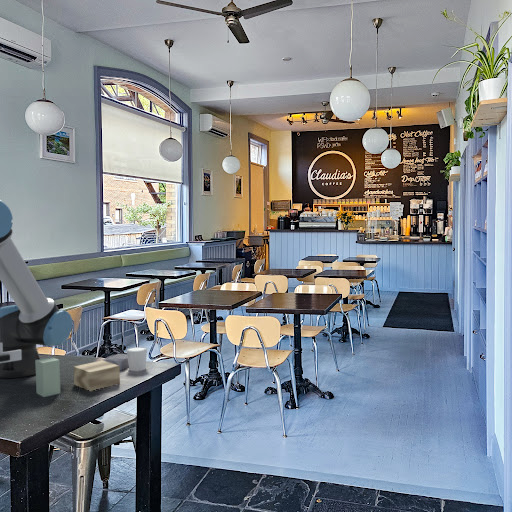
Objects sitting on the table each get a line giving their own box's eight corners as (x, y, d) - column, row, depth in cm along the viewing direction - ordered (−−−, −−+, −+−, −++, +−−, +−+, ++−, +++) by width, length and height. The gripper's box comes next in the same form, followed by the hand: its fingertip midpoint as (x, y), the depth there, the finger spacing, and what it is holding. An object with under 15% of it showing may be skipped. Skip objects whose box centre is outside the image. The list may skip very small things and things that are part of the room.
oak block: (74, 385, 169) (73, 366, 168) (103, 378, 176) (102, 360, 176) (90, 392, 162) (90, 372, 161) (119, 384, 169) (119, 365, 169)
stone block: (95, 376, 185) (122, 371, 184) (93, 362, 186) (119, 357, 184) (111, 368, 197) (137, 363, 195) (109, 355, 197) (134, 350, 195)
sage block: (36, 393, 160) (35, 360, 160) (53, 389, 164) (51, 356, 163) (43, 397, 157) (42, 363, 156) (60, 393, 160) (59, 359, 160)
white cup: (151, 367, 188) (151, 347, 188) (139, 372, 182) (139, 351, 182) (135, 365, 191) (134, 346, 191) (122, 370, 185) (122, 350, 184)
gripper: (-88, 369, 146) (-5, 356, 161) (-61, 388, 129) (29, 372, 144) (-88, 342, 146) (-6, 331, 161) (-61, 357, 128) (29, 343, 143)
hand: (11, 350), depth 152 cm, fingers open, 13 cm apart
